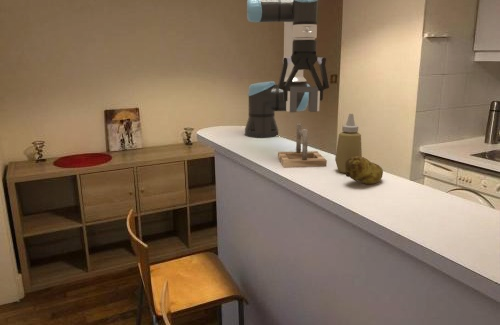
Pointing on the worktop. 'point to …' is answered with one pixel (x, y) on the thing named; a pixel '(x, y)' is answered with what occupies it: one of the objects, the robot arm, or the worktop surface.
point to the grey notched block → (312, 97)
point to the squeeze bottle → (348, 144)
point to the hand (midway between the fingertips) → (302, 110)
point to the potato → (363, 170)
